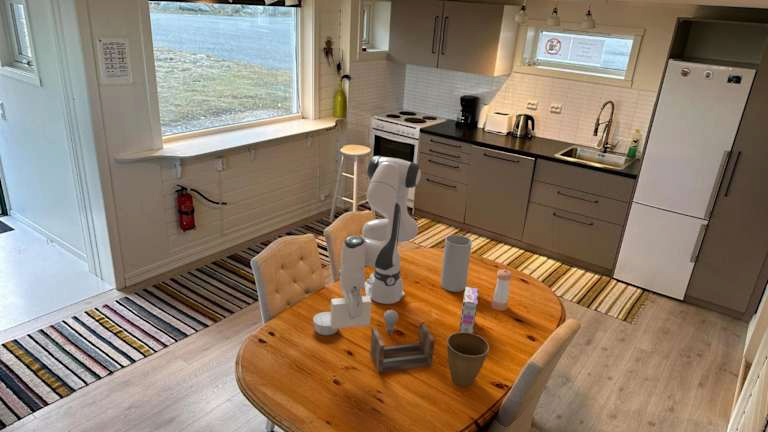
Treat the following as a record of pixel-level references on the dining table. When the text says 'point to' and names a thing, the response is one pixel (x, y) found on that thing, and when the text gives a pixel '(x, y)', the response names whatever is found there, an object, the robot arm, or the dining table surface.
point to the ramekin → (323, 323)
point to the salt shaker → (501, 290)
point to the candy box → (469, 310)
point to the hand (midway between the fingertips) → (350, 314)
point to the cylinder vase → (455, 262)
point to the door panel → (342, 313)
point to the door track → (402, 352)
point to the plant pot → (465, 356)
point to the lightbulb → (390, 320)
